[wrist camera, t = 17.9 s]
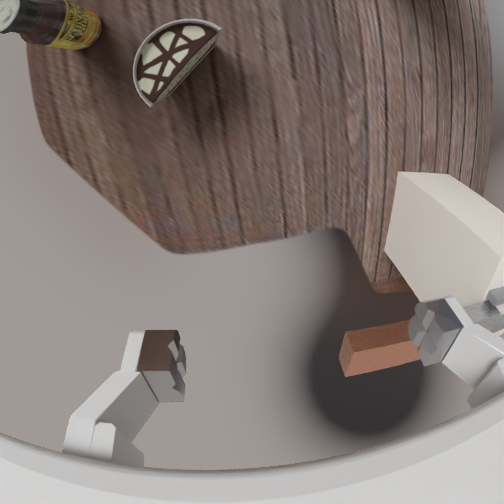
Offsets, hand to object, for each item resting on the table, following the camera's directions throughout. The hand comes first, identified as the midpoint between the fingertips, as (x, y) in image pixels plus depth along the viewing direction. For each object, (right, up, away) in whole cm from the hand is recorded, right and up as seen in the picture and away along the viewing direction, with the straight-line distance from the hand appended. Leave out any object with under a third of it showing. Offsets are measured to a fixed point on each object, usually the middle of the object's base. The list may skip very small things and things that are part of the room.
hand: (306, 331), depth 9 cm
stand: (+29, +10, +41) cm, 51 cm away
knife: (+17, -6, +18) cm, 26 cm away
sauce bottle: (-26, +35, +20) cm, 47 cm away
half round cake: (-12, +29, +24) cm, 40 cm away
